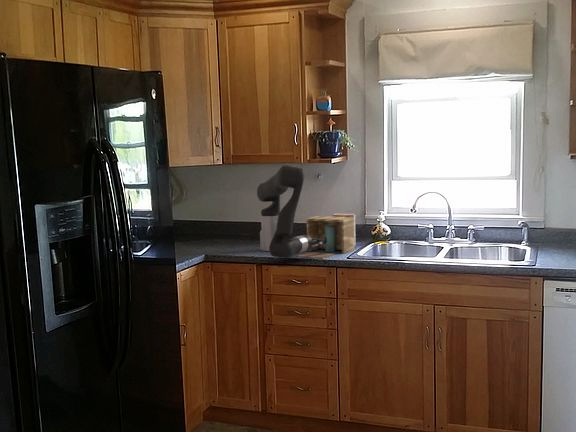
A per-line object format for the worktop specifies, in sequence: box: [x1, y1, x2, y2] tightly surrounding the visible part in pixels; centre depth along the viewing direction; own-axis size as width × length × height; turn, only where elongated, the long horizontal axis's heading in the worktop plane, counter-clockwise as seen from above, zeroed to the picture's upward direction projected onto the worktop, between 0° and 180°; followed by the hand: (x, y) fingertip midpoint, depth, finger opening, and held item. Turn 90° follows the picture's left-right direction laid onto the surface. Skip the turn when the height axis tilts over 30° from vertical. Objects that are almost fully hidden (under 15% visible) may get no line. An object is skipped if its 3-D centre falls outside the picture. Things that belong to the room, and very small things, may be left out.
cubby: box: [306, 215, 355, 255], centre depth 342 cm, size 20×11×16 cm, turn 59°
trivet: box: [295, 251, 335, 260], centre depth 330 cm, size 14×12×1 cm
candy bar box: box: [331, 213, 357, 248], centre depth 354 cm, size 11×5×16 cm, turn 74°
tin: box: [324, 226, 336, 253], centre depth 342 cm, size 5×5×12 cm
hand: (318, 239), depth 331 cm, fingers open, 8 cm apart
